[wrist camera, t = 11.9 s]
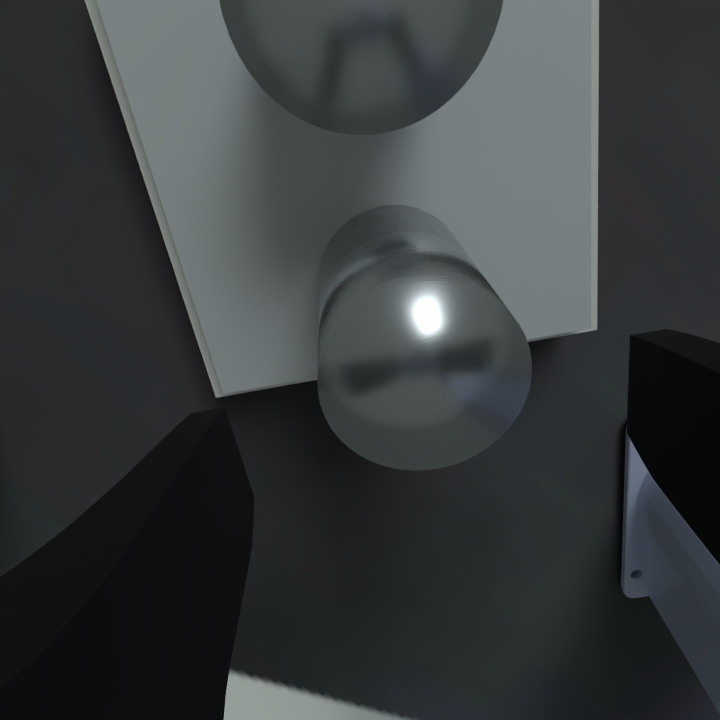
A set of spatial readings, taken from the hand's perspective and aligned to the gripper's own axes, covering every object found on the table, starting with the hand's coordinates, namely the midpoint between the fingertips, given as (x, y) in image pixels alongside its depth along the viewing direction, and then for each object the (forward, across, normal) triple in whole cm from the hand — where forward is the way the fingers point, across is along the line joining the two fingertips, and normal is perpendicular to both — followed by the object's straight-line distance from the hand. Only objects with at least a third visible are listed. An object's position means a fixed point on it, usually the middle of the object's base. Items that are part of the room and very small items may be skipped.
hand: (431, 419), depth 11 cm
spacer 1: (+7, 0, -7) cm, 10 cm away
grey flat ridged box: (+10, 0, -4) cm, 11 cm away
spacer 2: (+7, 0, 0) cm, 7 cm away
